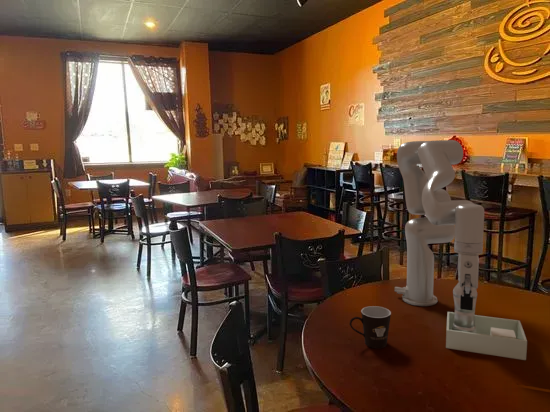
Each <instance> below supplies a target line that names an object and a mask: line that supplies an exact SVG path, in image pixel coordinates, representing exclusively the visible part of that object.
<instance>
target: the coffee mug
mask: <svg viewBox="0 0 550 412" xmlns="http://www.w3.org/2000/svg"><path fill="white" fill-rule="evenodd" d="M360 312H361V317H359V316H354V317H352V318H351V319H350V320H349V326H350V328H351V329H352V330H353V332H355V333H357V334H359V335H361V336H363V338H364V344H365V346H367V347H369V348H371V349H383V348H386V347H387V345H388V340H389V339H388V337H389V331H390V323H391V316H392V311H391V310H389V309H388V308H386V307H383V306H378V305H377V306H376V305H375V306H374V305H372V306H370V305H369V306H365V307H363V308H362V309H361V310H360ZM355 320H359V321H360V322H361V324H362V328H363V330H362V331H363V332H361V331H359V330H357V329H356V328H354V326H353V325H352V323H353V322H354V321H355Z"/></svg>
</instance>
